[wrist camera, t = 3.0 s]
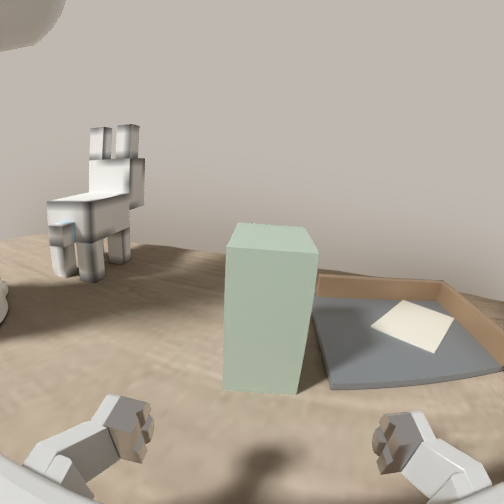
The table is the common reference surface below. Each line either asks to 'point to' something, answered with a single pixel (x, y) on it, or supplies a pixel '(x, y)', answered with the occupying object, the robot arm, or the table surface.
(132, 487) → the table surface
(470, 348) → the tray
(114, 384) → the table surface
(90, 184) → the toy llama
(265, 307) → the sage block
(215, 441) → the table surface
